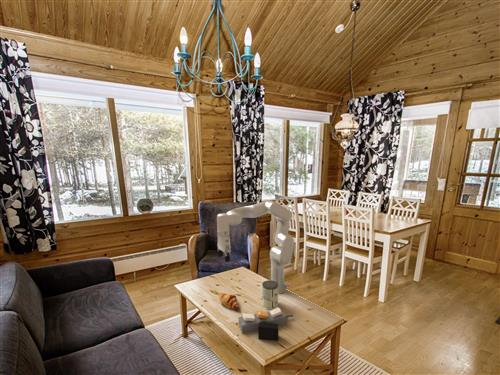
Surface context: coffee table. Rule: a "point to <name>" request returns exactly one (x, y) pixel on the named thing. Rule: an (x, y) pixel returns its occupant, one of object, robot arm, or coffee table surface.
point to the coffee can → (270, 294)
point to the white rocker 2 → (275, 312)
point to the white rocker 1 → (248, 317)
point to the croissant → (229, 300)
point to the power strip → (253, 325)
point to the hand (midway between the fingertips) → (223, 258)
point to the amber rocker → (262, 314)
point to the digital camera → (268, 331)
